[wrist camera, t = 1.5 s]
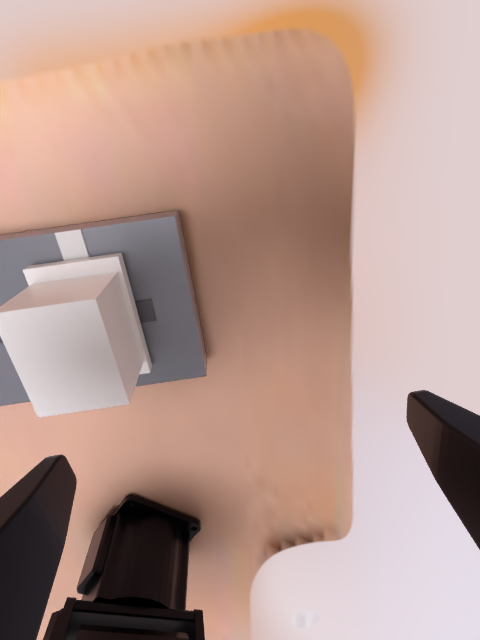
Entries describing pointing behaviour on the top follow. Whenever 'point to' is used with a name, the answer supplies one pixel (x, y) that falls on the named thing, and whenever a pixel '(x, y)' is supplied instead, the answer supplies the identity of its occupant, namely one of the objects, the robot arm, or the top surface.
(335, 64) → the top surface
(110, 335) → the fader knob
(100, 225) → the fader track
